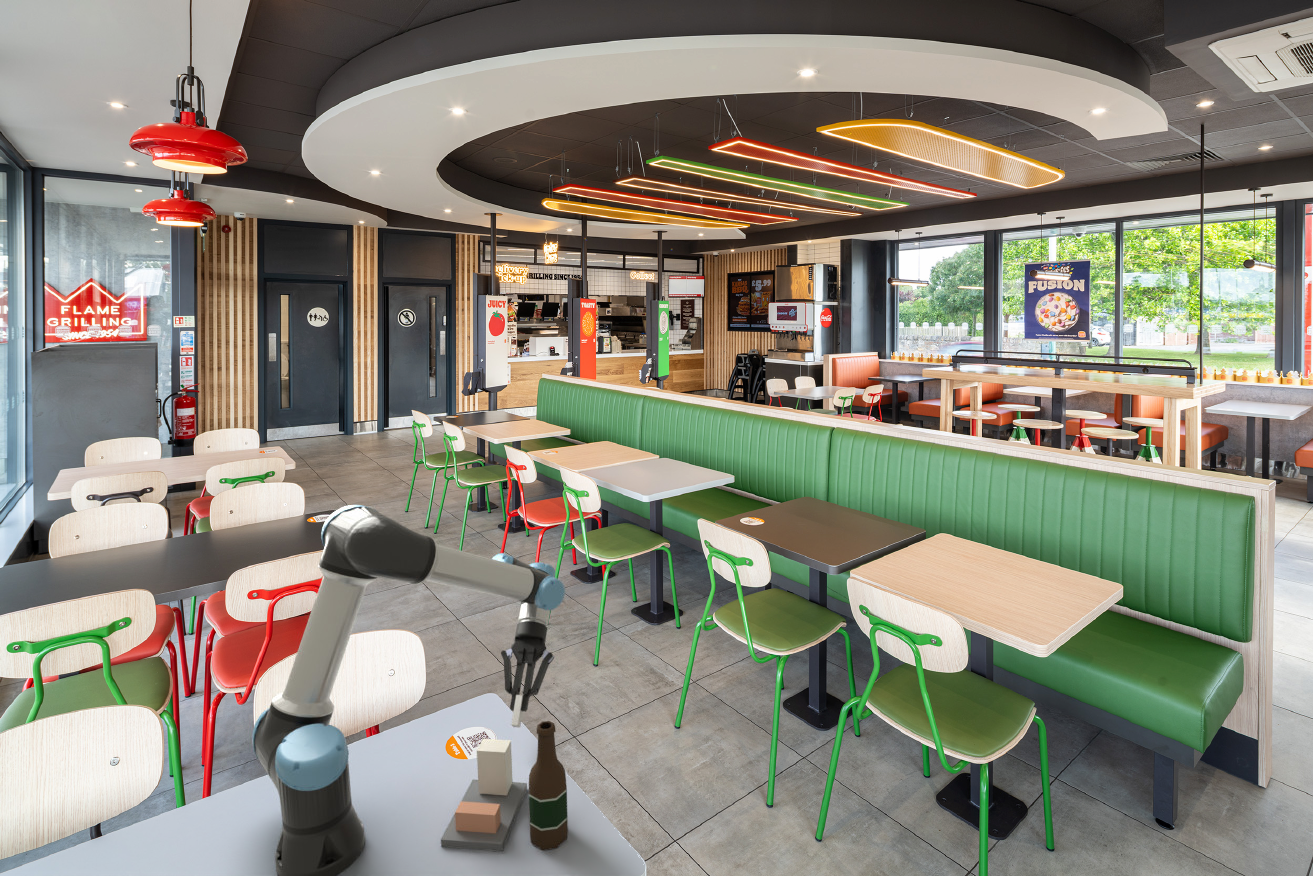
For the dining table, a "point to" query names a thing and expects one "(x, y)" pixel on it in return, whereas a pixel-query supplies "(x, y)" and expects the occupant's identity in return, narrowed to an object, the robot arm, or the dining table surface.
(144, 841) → the dining table surface
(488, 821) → the peach rectangular block
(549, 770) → the beer bottle
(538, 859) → the dining table surface
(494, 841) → the base
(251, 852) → the dining table surface
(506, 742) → the cream tall block
